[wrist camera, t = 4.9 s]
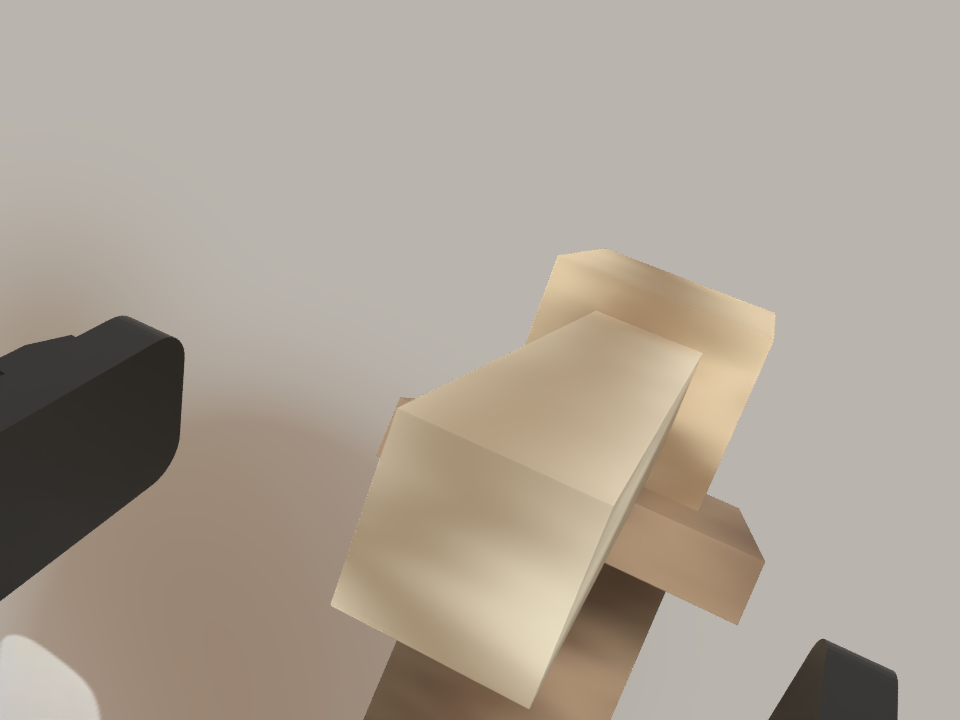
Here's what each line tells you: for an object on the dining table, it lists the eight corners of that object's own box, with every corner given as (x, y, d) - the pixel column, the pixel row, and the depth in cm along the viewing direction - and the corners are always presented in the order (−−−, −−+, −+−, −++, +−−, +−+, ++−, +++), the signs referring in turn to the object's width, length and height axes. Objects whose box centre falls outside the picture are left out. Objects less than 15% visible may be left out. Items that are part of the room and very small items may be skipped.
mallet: (715, 449, 31) (775, 313, 30) (608, 828, 12) (767, 484, 10) (554, 380, 32) (605, 248, 31) (220, 617, 13) (319, 292, 12)
